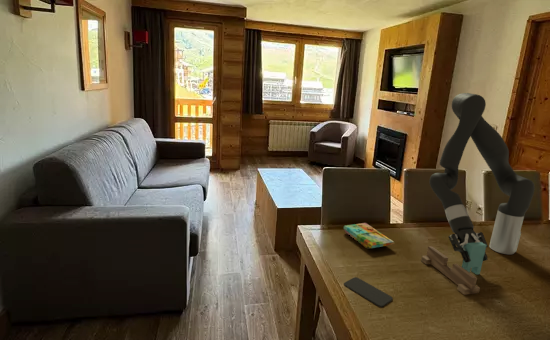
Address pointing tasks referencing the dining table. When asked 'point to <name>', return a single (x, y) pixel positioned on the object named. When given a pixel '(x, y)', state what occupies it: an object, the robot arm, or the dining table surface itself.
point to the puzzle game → (367, 235)
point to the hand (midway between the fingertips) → (476, 261)
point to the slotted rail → (452, 271)
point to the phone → (368, 292)
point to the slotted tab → (474, 257)
